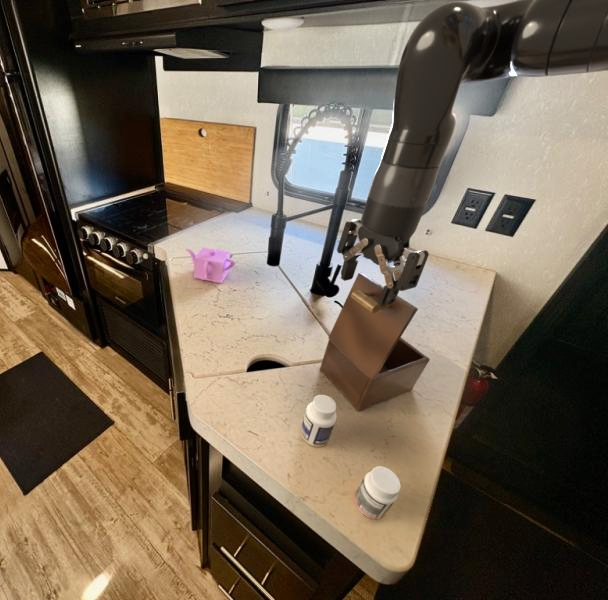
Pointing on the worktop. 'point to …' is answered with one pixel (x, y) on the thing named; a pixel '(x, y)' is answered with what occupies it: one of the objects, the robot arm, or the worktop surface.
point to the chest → (388, 383)
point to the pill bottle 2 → (377, 492)
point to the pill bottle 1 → (319, 421)
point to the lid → (370, 325)
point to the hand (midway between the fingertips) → (363, 291)
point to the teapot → (211, 264)
